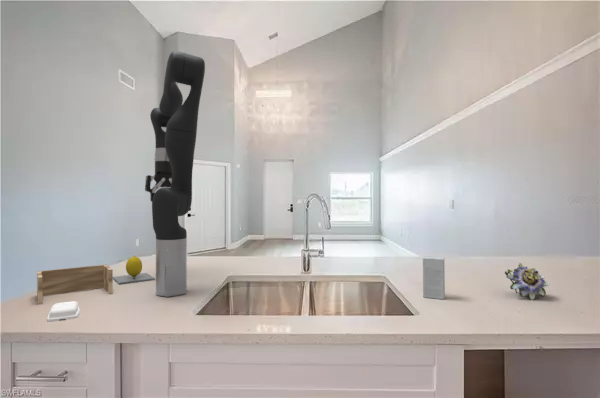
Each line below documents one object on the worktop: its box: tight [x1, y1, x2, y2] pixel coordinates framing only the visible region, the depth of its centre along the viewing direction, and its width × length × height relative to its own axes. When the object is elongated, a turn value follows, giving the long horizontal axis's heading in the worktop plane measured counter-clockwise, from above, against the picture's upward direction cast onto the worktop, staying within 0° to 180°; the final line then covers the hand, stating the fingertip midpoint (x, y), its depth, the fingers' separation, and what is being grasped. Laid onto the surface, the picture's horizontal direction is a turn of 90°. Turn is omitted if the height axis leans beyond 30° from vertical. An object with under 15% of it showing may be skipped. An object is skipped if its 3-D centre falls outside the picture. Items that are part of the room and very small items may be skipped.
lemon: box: [125, 255, 143, 277], centre depth 134 cm, size 6×6×8 cm
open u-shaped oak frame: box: [36, 264, 114, 305], centre depth 112 cm, size 11×19×8 cm, turn 127°
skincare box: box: [422, 255, 446, 300], centre depth 110 cm, size 6×4×12 cm
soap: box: [46, 300, 81, 323], centre depth 93 cm, size 9×7×3 cm
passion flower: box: [504, 263, 550, 301], centre depth 111 cm, size 11×11×12 cm
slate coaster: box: [113, 272, 156, 285], centre depth 134 cm, size 12×12×1 cm
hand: (165, 203), depth 139 cm, fingers open, 8 cm apart
